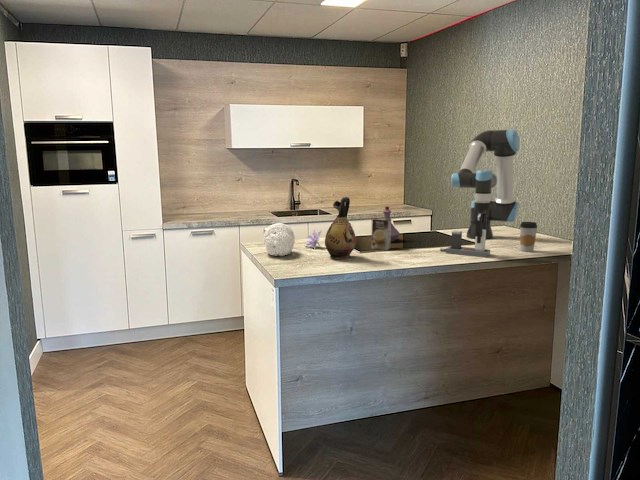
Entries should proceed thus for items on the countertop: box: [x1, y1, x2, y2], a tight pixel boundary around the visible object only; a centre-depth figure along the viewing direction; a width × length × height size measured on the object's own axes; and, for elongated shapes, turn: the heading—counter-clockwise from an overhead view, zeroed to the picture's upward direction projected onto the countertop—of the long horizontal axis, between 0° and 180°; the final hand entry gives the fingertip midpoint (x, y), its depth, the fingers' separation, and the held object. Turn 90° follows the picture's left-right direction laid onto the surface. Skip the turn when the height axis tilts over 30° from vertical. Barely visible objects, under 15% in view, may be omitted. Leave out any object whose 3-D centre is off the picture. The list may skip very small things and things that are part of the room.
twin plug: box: [450, 230, 463, 249], centre depth 258 cm, size 4×4×11 cm
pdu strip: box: [439, 245, 491, 259], centre depth 257 cm, size 9×24×4 cm, turn 59°
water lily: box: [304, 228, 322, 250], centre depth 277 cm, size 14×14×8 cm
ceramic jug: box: [324, 196, 357, 260], centre depth 250 cm, size 17×15×30 cm
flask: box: [382, 206, 401, 243], centre depth 295 cm, size 16×16×20 cm
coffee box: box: [371, 217, 392, 251], centre depth 272 cm, size 9×6×16 cm
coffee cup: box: [519, 221, 538, 253], centre depth 264 cm, size 8×8×15 cm
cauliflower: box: [262, 222, 296, 257], centre depth 259 cm, size 20×18×16 cm
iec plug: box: [474, 230, 487, 252], centre depth 252 cm, size 4×4×11 cm
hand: (480, 248), depth 252 cm, fingers closed on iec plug, 4 cm apart
